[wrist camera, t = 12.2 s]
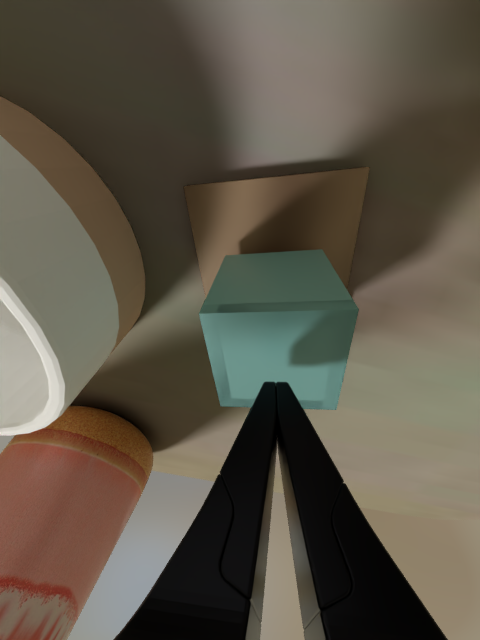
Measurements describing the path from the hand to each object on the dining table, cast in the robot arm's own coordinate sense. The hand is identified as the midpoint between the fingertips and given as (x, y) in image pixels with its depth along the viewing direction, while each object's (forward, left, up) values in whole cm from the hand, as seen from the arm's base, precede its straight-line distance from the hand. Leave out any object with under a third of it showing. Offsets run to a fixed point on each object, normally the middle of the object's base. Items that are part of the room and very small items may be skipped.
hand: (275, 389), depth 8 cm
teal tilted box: (0, 0, -7) cm, 7 cm away
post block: (0, 0, -9) cm, 9 cm away
